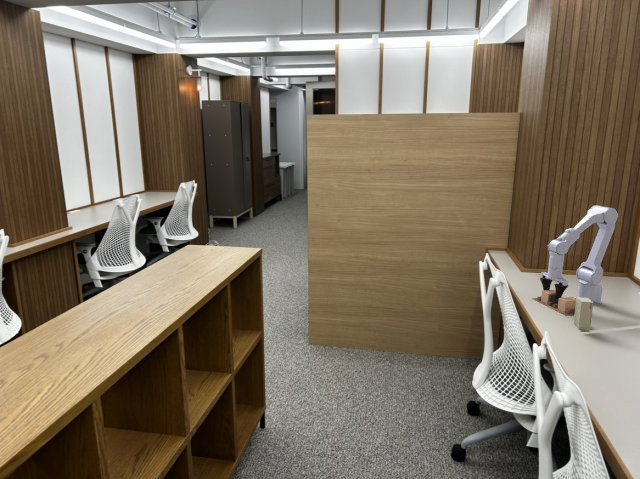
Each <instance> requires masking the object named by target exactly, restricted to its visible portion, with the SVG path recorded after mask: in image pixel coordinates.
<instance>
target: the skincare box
mask: <svg viewBox="0 0 640 479" xmlns="http://www.w3.org/2000/svg"><path fill="white" fill-rule="evenodd" d="M593 308H594V302H592V301H591V300H590V299H589V298H583V297H577V296H576V307H575V315H573V316H574V317H573V318H574V319H573V325H574V327H575V328H576V329H577V330H578V331H579V330H580V332H584V333H590V332H591V324H592V319H593V318H592V317H593V316H592V315H593Z"/></svg>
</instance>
